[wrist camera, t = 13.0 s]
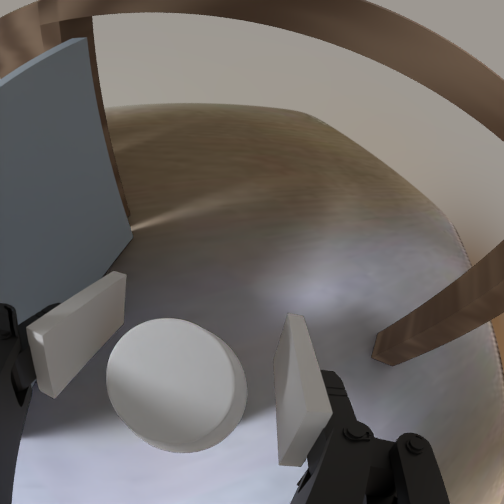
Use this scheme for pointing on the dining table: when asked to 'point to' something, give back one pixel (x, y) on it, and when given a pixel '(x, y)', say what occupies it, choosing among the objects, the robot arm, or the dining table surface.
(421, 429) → the dining table surface
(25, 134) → the door
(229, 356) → the supplement bottle
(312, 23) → the door frame
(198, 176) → the dining table surface
